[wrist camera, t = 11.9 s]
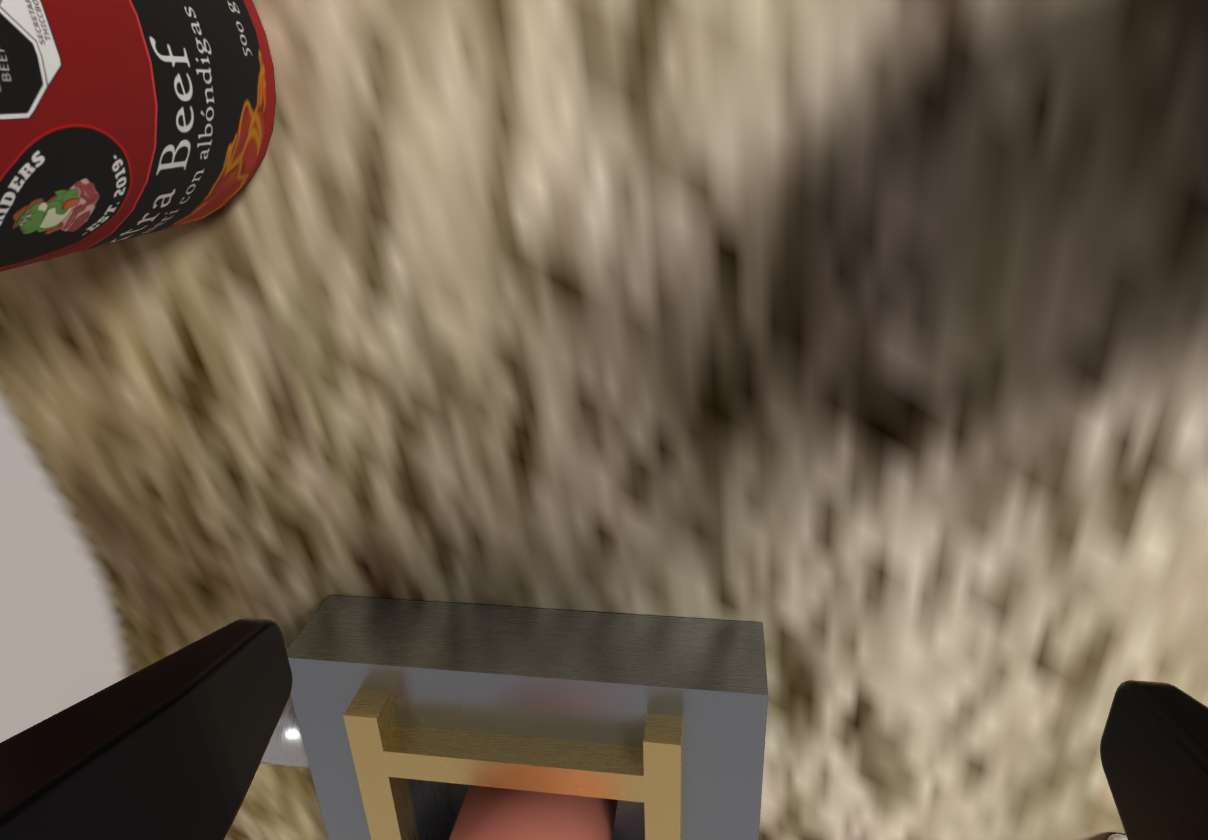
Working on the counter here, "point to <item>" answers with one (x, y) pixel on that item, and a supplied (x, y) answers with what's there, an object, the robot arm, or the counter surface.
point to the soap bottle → (1117, 837)
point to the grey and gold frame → (525, 716)
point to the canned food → (125, 118)
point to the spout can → (532, 816)
